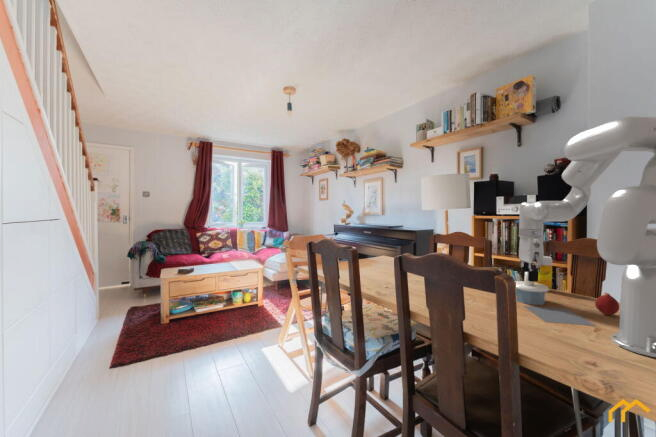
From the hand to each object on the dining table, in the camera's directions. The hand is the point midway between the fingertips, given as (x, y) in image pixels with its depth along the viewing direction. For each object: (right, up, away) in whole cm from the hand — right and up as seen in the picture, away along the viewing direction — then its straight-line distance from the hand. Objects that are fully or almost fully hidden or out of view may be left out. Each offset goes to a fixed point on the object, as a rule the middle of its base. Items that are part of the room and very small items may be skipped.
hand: (529, 278), depth 111 cm
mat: (-1, -10, -15) cm, 18 cm away
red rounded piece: (+16, -10, -14) cm, 24 cm away
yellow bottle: (+18, -9, +16) cm, 25 cm away
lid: (0, -3, 0) cm, 3 cm away
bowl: (0, -9, 0) cm, 9 cm away
